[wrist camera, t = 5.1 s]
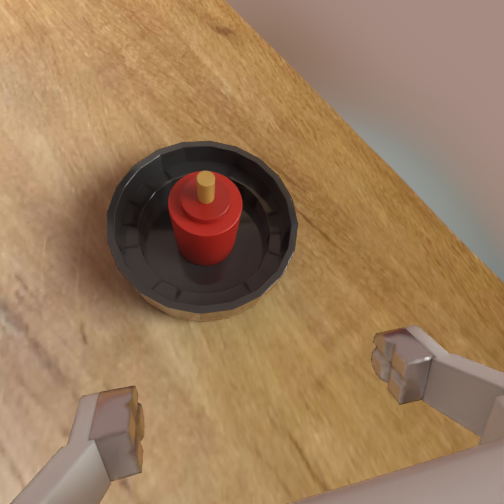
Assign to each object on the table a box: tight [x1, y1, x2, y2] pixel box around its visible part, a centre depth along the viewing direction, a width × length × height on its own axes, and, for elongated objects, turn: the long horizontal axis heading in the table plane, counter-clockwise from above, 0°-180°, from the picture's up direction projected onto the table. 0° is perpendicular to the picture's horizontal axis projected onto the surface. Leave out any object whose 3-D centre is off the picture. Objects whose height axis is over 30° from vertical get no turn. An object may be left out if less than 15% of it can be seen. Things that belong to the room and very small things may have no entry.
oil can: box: [168, 171, 242, 266], centre depth 26 cm, size 5×5×10 cm
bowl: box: [107, 141, 298, 322], centre depth 29 cm, size 15×15×5 cm
